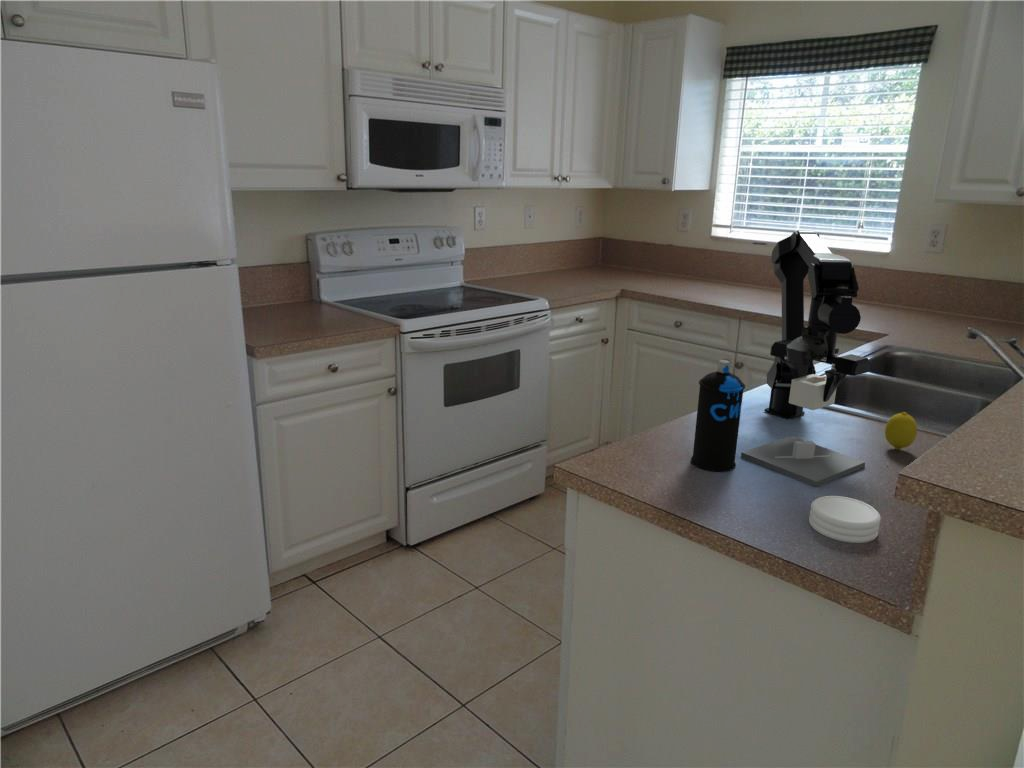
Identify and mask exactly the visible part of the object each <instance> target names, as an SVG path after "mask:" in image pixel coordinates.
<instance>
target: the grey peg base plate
mask: <svg viewBox="0 0 1024 768" xmlns="http://www.w3.org/2000/svg"><path fill="white" fill-rule="evenodd" d="M740 457H741V458H742V459H745V460H747V461H750V462H752V463H756V464H758V465H760V466H762V467H766V468H767V469H770V470H772V471H775V472H777V473H780V474H782V475H785V476H787V477H790V478H793V479H795V480H798V481H800V482H802V483H805V484H808V485H810V486H812V487H815V488H816V487H820V486H822V485H824V484H826V483H829V482H831V481H833V480H837V479H839V478H840V477H843V476H846V475H848V474H851V473H853V472H856V471H858V470H860V469H862V468H863V469H864V468H865V466H866V461H863V460H861V459H858V458H855V457H852V456H849V455H847V454H844V453H840V452H839V451H835V450H832V449H829V448H827V447H824V446H821V445H818V444H817V443H815V442H814V441H812V440H803V439H801V438H799V437H795V436H792V435H789V436H785V437H783V438H780V439H777V440H775V441H774V440H773V441H771V442H768V443H765V444H762V445H759V446H756V447H753V448H750V449H747V450H743V451H741V453H740Z"/></svg>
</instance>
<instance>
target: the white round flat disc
mask: <svg viewBox="0 0 1024 768" xmlns="http://www.w3.org/2000/svg"><path fill="white" fill-rule="evenodd" d="M881 520H882V517H881V515H880V512H878V510H877V509H875V508H874V507H873V506H871V505H870V504H868V503H866V502H865V501H862V500H859V499H855V498H851V497H847V496H840V495H826V496H825V495H824V496H820V497H817V498H816V499H814V500H813V501H812V502H811V505H810V511H809V517H808V522H809V526H810V527H811V528H813V530H815V531H816V532H817V533H819V534H821V535H823V536H824V537H827V538H829V539H832V540H835V541H838V542H843V543H851V544H864V543H868V542H872V541H873V540H875V539H876V538H877V537H878V535H879V529H880V526H881V525H880V523H881Z"/></svg>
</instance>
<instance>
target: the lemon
mask: <svg viewBox="0 0 1024 768" xmlns="http://www.w3.org/2000/svg"><path fill="white" fill-rule="evenodd" d="M917 426H918V425H917V422H916V420H915V418H914V417H913V416H911V415H910V414H908V413H907V412H905V411H902V412H899V413H896V414H894V415H891V417H890V418H889V419H888V421H887V423H886V425H885V428H884V435H885V436H884V437H885V440H886V442H887V443H888V444H889V445H890V446H892V447H893V448H894V449H895V450H897V451H899V450H901V449H904V448H907V447H910V446H911V445H912V444H913V443H914V442H915V439H917V438H916V437H917V433H918V427H917Z"/></svg>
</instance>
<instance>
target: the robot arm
mask: <svg viewBox="0 0 1024 768" xmlns="http://www.w3.org/2000/svg"><path fill="white" fill-rule="evenodd" d="M770 261H771V263H772V264H773V273H774V275H775V277H776V278H777V279H778V281H779V282H780V284H781V340H777V341H774V342H773V343H772V345H771V346H770V351H769V355H770V356H772V357H774V360H773V363H772V365H771V367H770V369H769V370H768V372H767V373H766V385H767V386H768V387H769V388H770V397H769V405H768V407H766V408H764V410H763V411H764V412H766V413H769V414H773V415H775V416H778V417H781V418H785V419H788V420H790V419H793V418H796V417H799V416H803V415H805V413H806V412H805V411H804V408H803V407H800V406H797V405H794V404H790V403H789V397H790V389H791V382H792V379H796V378H800V377H804V376H808V375H812V374H815V375H816V374H817V372H816V368H815V364H814V361H816V362H819V363H823V364H827V365H831V369H826V370H824V374H825V376H826V377H827V379H826V384H825V390H824V396H823V401H824V402H827V401H828V400H829V398H830V397H831V395H832V394H833V393H834V391H835V390H836V391H837V389H836V388H838V387H839V386H840V384H841V383H842V381H843V380H844V379H845V378H846V376H853V377H854V376H859V375H863V374H866V373H869V372H870V368H871V363H870V360H869V358H868V357H866V356H861V355H856V354H853V353H850V354H846V355H842V356H838V355H836V354H839V351H840V348H839V347H837V340H838V335H844V334H849V333H852V332H853V331H854V330H856V329H857V327H858V326H859V325H860V323H861V319H862V317H861V312H860V311H859V308H858V307H857V306H856V305H854V304H853V298H854V299H855V298H856V299H857V297H858V291H859V289H860V288H859V284H858V280H857V275H856V272H855V271H856V270H855V267H854V265H853V264H852V262H851V260H850V259H849V258H847V257H845V256H843V255H838V254H835V253H833V252H832V251H831V250H830V249H829V248H828V247H827V245H826V244H825V243H824V242H823V240H822V239H821V238H820V233H819V232H816V231H815V230H797V231H793V232H792V233H791V235H789V236H787V237H786V238H784V239H781V240H779V241H777V242H776V245H775V246H774V247H773V249H772V251H771V260H770ZM806 277H807V280H808V284H809V287H810V295H811V298H810V305H809V313H808V320H807V326H805V312H804V311H805V306H804V305H805V301H804V300H805V298H804V297H805V296H804V295H805V294H804V287H805V286H804V280H805V279H806Z"/></svg>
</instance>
